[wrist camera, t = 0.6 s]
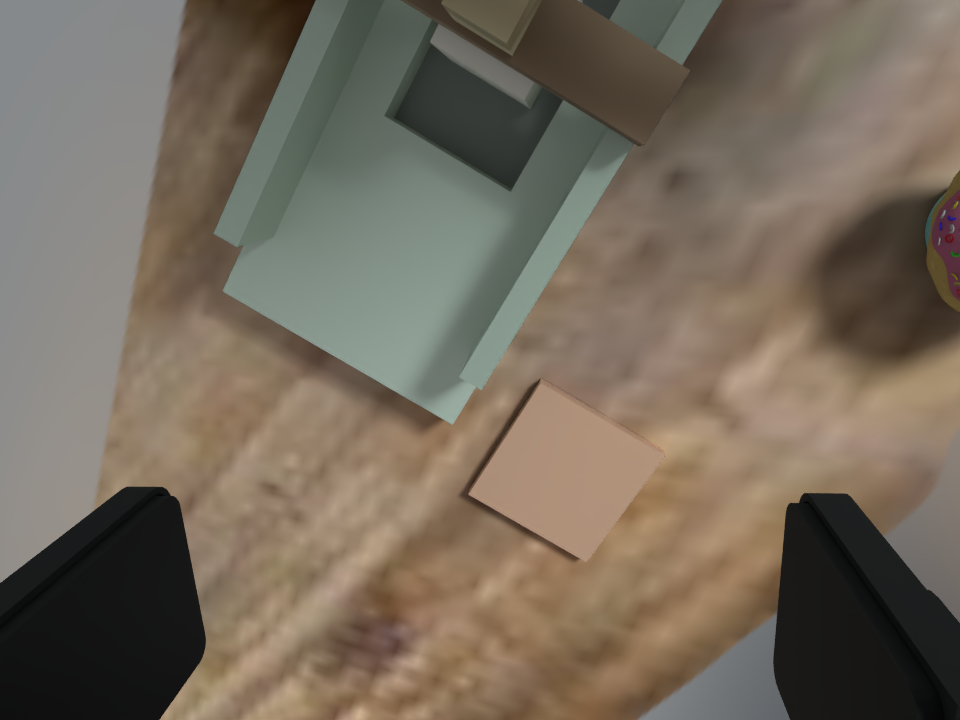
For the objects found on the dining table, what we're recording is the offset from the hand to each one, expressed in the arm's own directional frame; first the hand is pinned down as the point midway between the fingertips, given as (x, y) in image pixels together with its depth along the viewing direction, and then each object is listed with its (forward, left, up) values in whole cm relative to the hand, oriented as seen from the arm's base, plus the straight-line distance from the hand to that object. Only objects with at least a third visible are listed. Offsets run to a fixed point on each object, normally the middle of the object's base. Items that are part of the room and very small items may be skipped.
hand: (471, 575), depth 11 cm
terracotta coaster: (+9, +7, -28) cm, 30 cm away
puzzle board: (-4, -7, -28) cm, 29 cm away
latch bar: (-9, -7, -21) cm, 24 cm away
